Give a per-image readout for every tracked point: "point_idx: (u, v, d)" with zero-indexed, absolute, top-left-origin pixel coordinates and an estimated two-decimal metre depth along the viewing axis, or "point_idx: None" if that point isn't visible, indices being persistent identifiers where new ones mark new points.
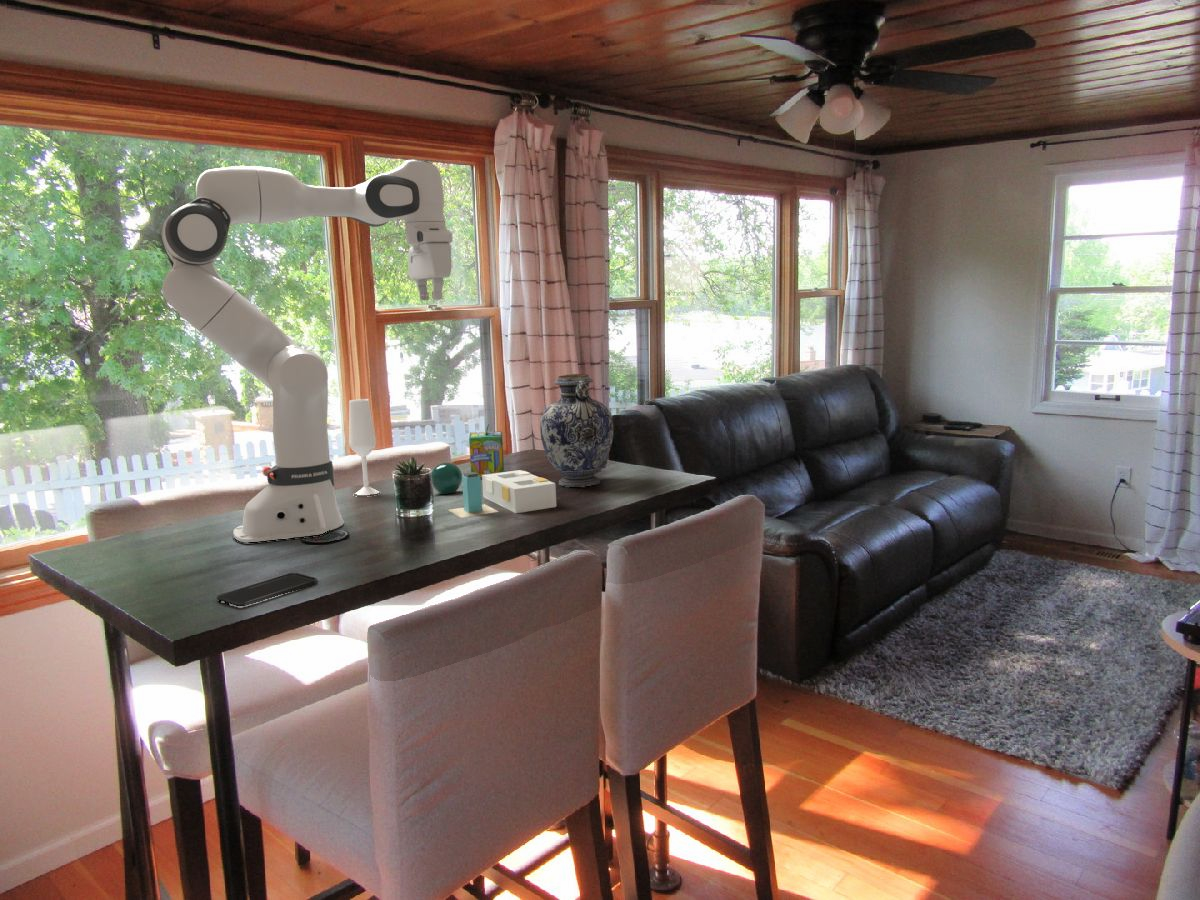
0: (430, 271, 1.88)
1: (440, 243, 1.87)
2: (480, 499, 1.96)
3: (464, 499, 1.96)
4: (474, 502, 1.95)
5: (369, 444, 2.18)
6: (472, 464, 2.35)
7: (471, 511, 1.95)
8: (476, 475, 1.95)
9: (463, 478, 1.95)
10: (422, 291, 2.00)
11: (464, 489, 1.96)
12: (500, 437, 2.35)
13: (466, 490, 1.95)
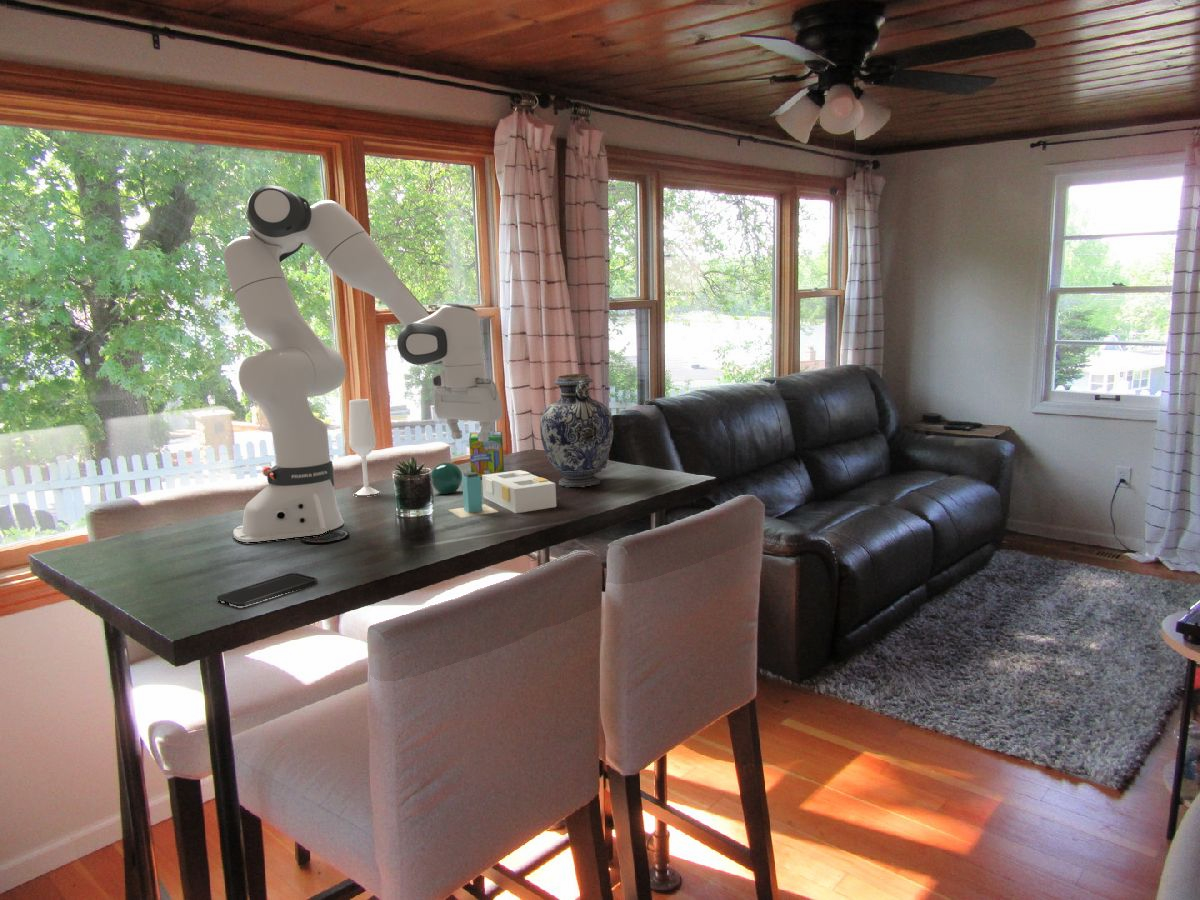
0: None
1: None
2: (480, 499, 1.96)
3: (464, 499, 1.96)
4: (474, 502, 1.95)
5: (369, 444, 2.18)
6: (472, 464, 2.35)
7: (471, 511, 1.95)
8: (476, 475, 1.95)
9: (463, 478, 1.95)
10: None
11: (464, 489, 1.96)
12: (500, 437, 2.35)
13: (466, 490, 1.95)
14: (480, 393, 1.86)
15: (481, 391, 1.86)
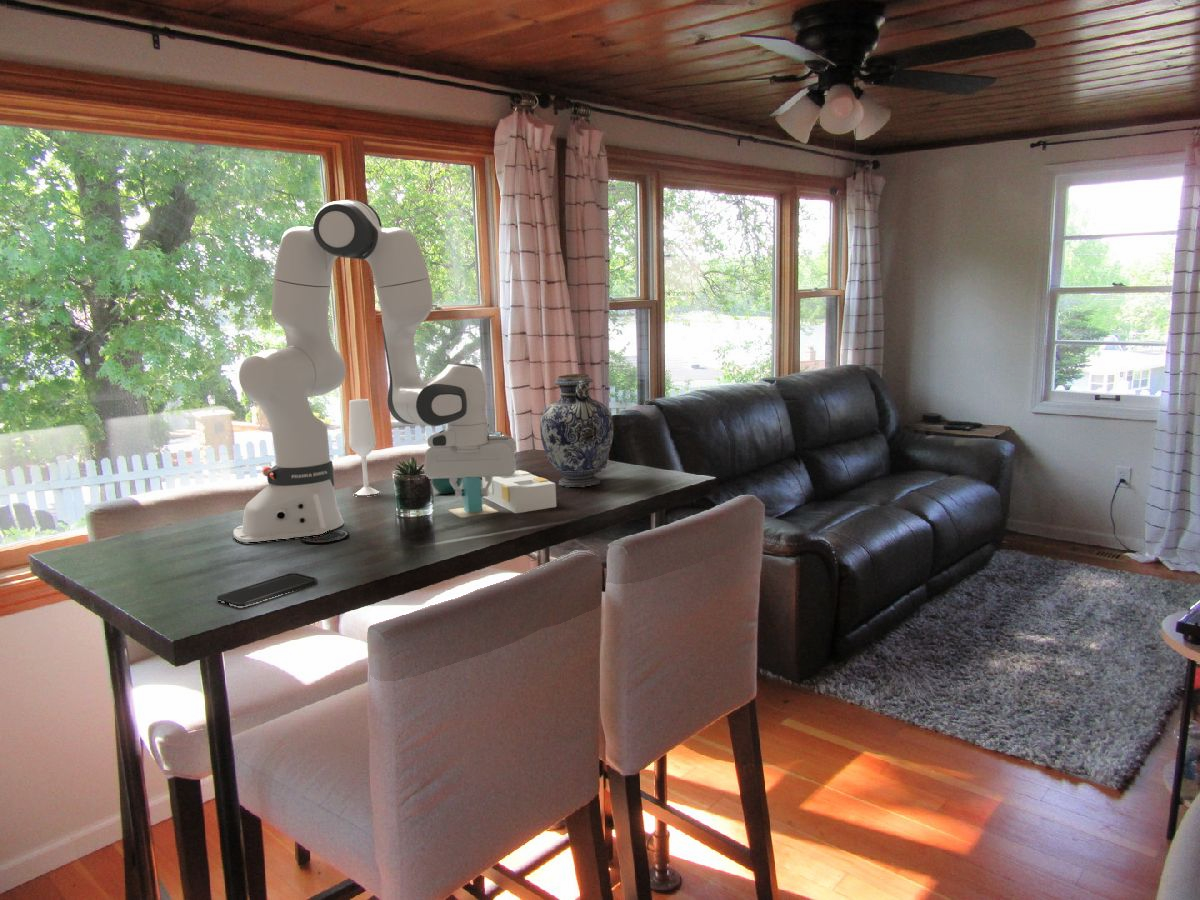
0: None
1: None
2: (480, 499, 1.96)
3: (464, 499, 1.96)
4: (474, 502, 1.95)
5: (369, 444, 2.18)
6: None
7: (471, 511, 1.95)
8: None
9: (463, 478, 1.95)
10: (485, 487, 1.96)
11: (464, 489, 1.96)
12: None
13: (466, 490, 1.95)
14: (500, 450, 1.92)
15: (502, 447, 1.92)
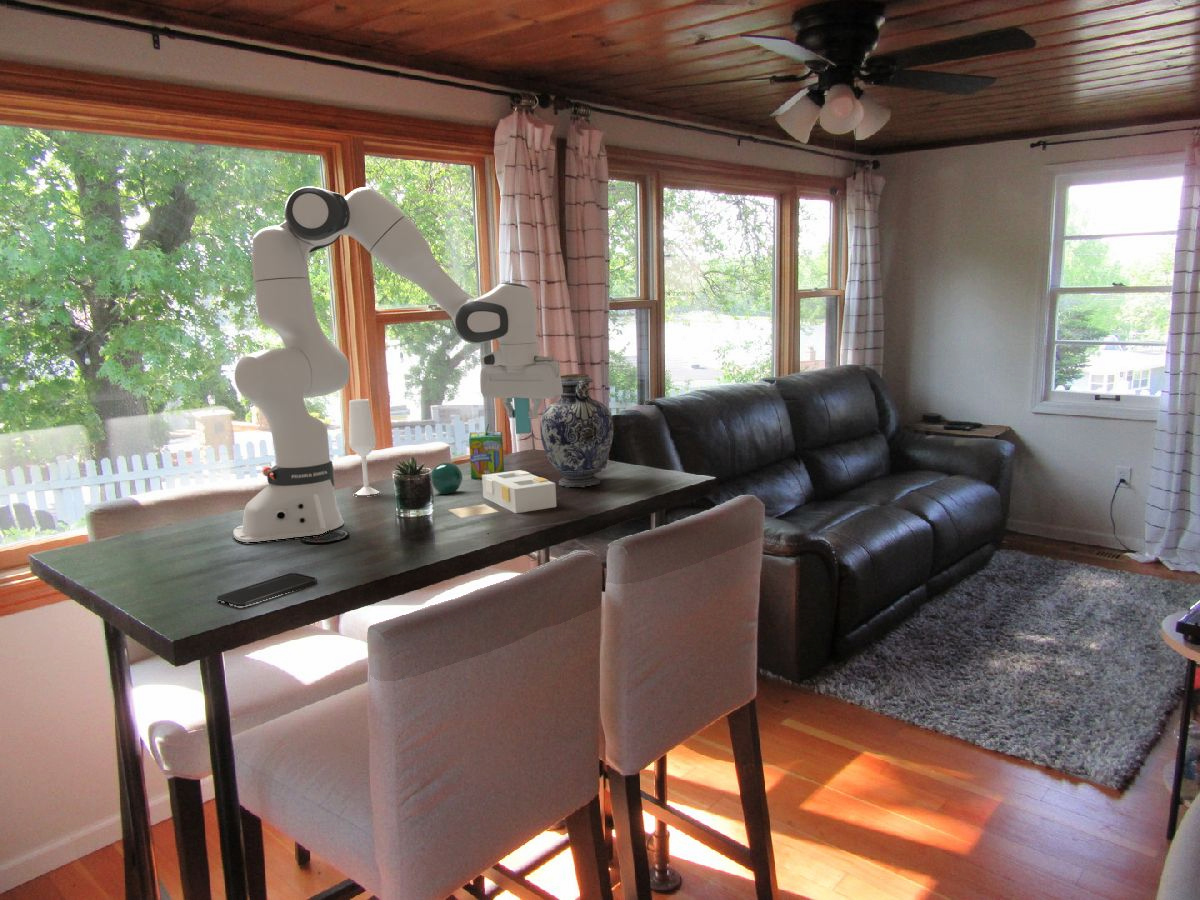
0: None
1: None
2: (528, 421, 1.95)
3: None
4: (521, 423, 1.95)
5: (369, 444, 2.18)
6: (472, 464, 2.35)
7: (518, 432, 1.95)
8: None
9: None
10: None
11: None
12: (500, 437, 2.35)
13: (515, 410, 1.95)
14: (542, 371, 1.90)
15: (544, 368, 1.89)
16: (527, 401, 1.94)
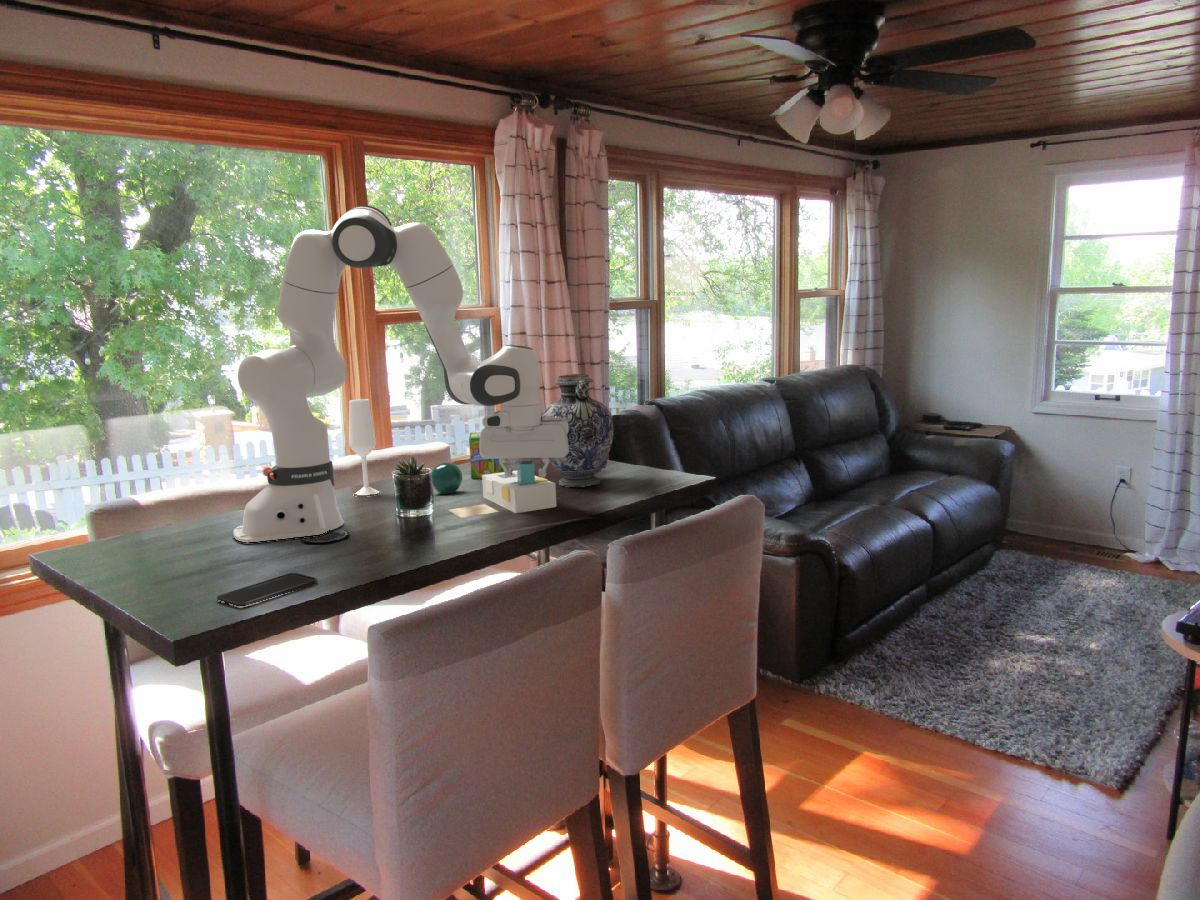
0: None
1: None
2: None
3: None
4: None
5: (369, 444, 2.18)
6: (472, 464, 2.35)
7: None
8: (530, 462, 1.97)
9: (518, 464, 1.98)
10: None
11: (518, 475, 1.98)
12: None
13: (520, 476, 1.97)
14: (553, 431, 1.94)
15: (555, 428, 1.94)
16: (533, 467, 1.97)
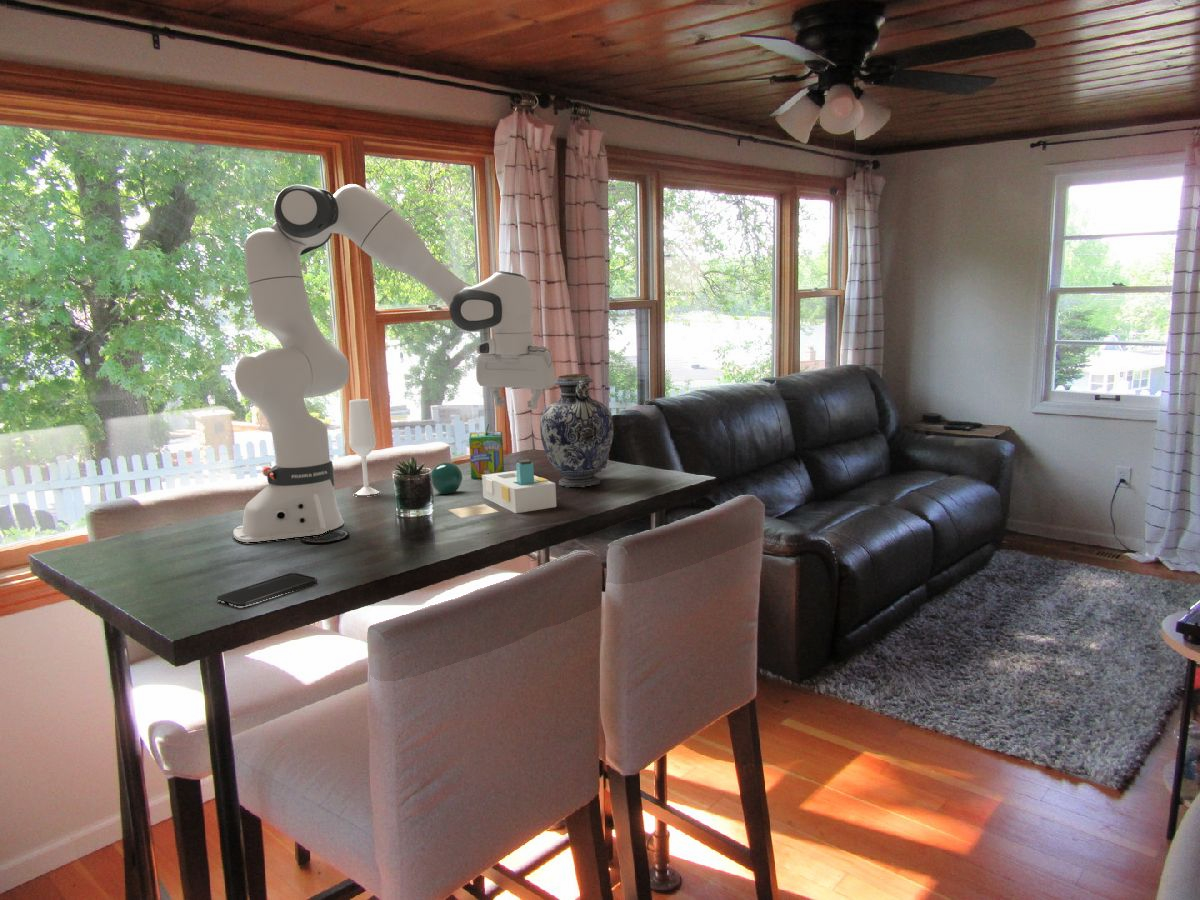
0: None
1: None
2: None
3: None
4: None
5: (369, 444, 2.18)
6: (472, 464, 2.35)
7: None
8: (529, 462, 1.97)
9: (517, 465, 1.98)
10: None
11: (518, 476, 1.98)
12: (500, 437, 2.35)
13: (519, 477, 1.97)
14: (534, 361, 1.89)
15: (536, 359, 1.89)
16: (532, 467, 1.97)
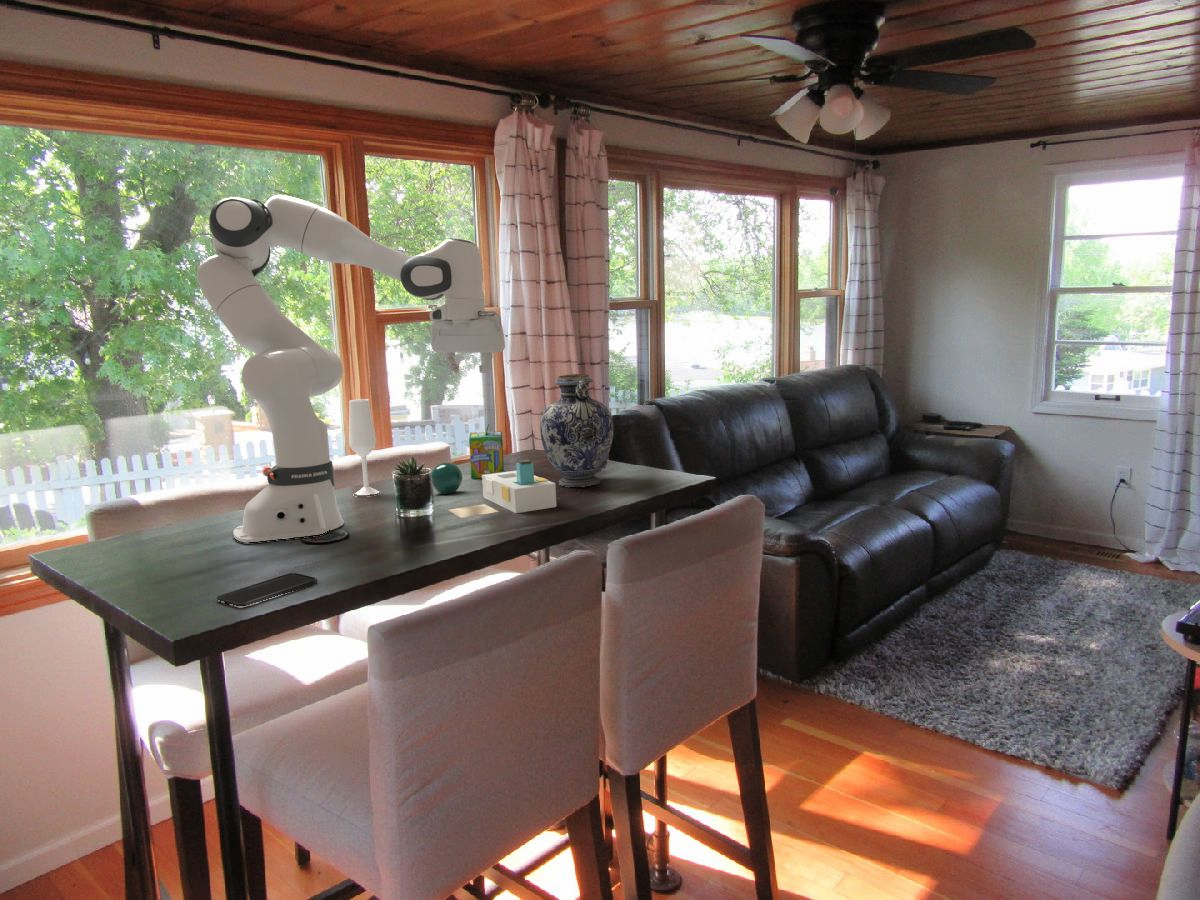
0: None
1: None
2: None
3: None
4: None
5: (369, 444, 2.18)
6: (472, 464, 2.35)
7: None
8: (529, 462, 1.97)
9: (517, 465, 1.98)
10: None
11: (518, 476, 1.98)
12: (500, 437, 2.35)
13: (519, 477, 1.97)
14: (484, 325, 1.93)
15: (485, 323, 1.93)
16: (532, 467, 1.97)
